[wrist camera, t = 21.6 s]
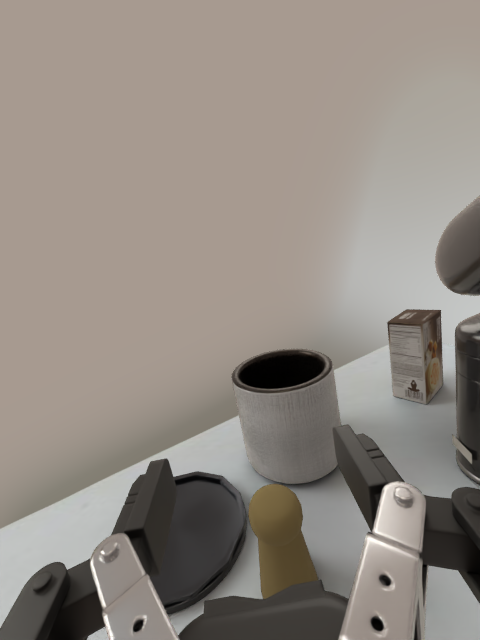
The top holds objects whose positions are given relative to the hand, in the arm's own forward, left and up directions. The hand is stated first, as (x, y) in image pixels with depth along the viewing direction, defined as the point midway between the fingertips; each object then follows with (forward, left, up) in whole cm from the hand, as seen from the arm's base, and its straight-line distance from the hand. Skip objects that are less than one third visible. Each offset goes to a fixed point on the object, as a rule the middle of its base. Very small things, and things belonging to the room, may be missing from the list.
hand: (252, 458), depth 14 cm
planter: (-21, -22, -25) cm, 39 cm away
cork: (-6, -9, -25) cm, 27 cm away
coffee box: (-50, -15, -25) cm, 58 cm away
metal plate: (0, -23, -25) cm, 34 cm away
